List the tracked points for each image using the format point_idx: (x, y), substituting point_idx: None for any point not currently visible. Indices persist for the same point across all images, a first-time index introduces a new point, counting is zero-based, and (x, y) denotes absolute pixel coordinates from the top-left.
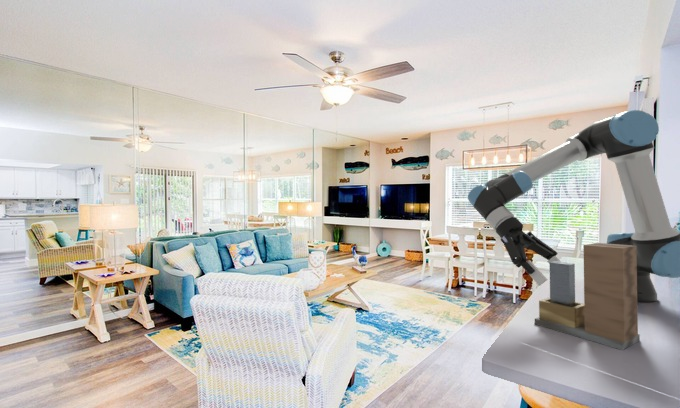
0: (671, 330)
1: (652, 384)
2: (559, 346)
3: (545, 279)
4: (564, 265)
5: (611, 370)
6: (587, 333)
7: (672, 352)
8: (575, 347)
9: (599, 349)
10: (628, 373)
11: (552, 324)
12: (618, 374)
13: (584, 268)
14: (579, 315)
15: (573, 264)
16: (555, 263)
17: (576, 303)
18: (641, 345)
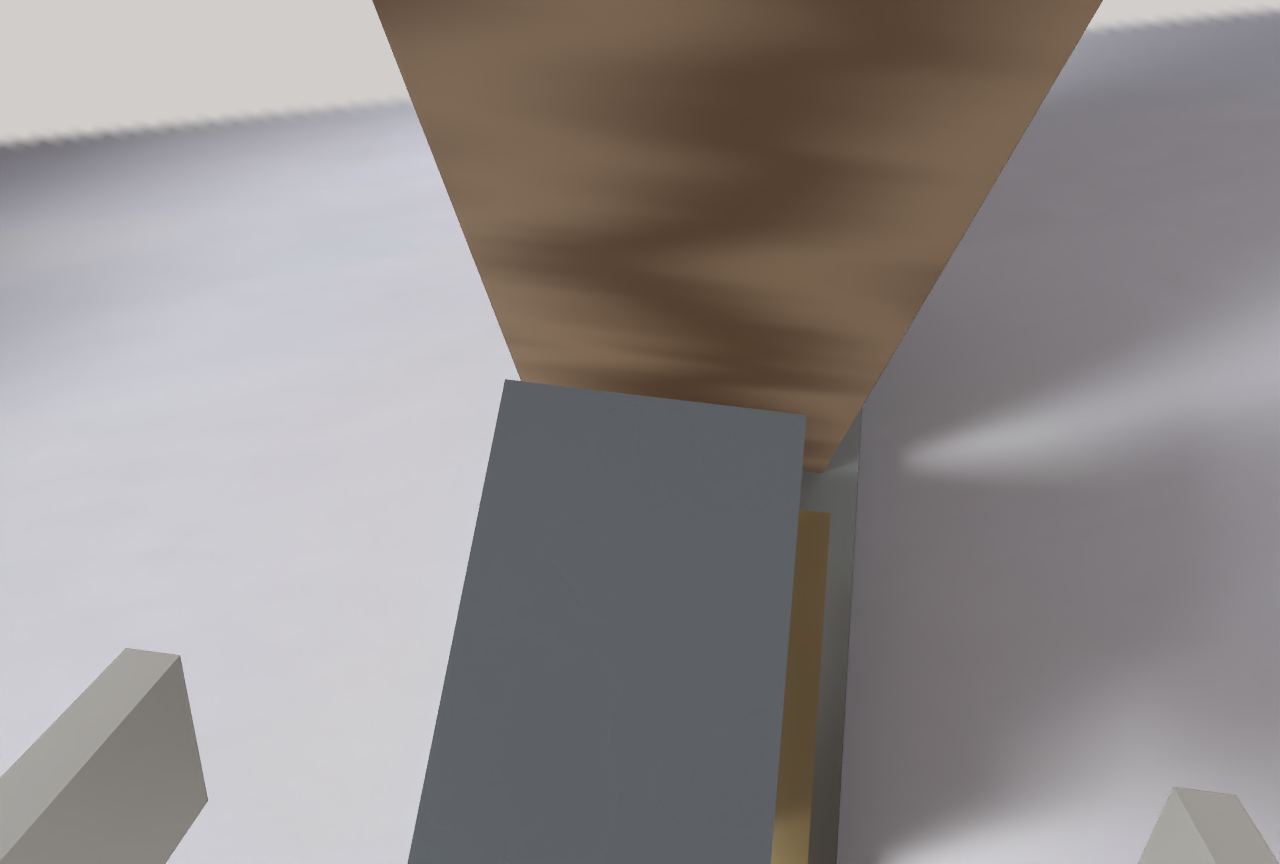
0: (129, 142)
1: (1233, 81)
2: (1170, 566)
3: (1243, 809)
4: (794, 534)
5: (1253, 236)
6: (855, 445)
7: None
8: (1077, 480)
9: (962, 361)
10: (1204, 173)
11: (839, 747)
12: (1272, 202)
13: (1065, 50)
14: None
15: (561, 393)
16: (773, 788)
17: None
18: None
